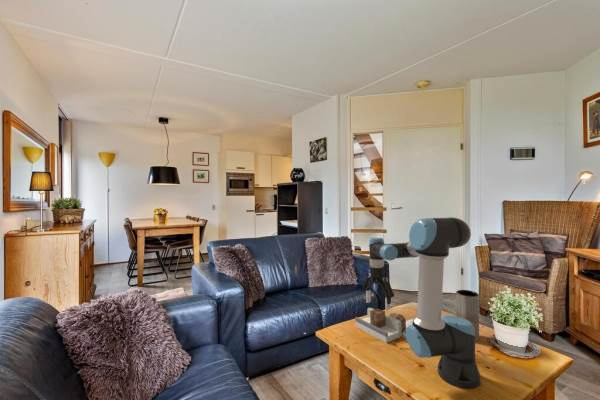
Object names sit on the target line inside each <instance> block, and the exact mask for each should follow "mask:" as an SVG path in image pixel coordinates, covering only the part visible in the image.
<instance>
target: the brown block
mask: <svg viewBox="0 0 600 400" xmlns="http://www.w3.org/2000/svg"><path fill="white" fill-rule="evenodd" d="M373 309H374V310H371V311H370V324H372V325H374V326H376V327H378V328H381V327H384V326H385V315H386V310H382V309H380V308H373Z"/></svg>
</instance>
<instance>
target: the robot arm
mask: <svg viewBox="0 0 600 400" xmlns="http://www.w3.org/2000/svg"><path fill="white" fill-rule="evenodd" d="M408 234H409V235H408V237H409V238H408V239H409V241H408V242H402V243H401V242H400V243H399V242H397V243H385V241H384V238H383V237H371V238H369V240H368V241H369V245H368V247H369V250H368V252H369V272H366V274H365V276H366V277H365V279H364V282H363V284H362V289H363V290H365V301H366V304H369V303H372V295H371V291H372V290H371V288H372V287H373V285H374V284H376V285H377V286H379V287H381V290H382V292H383V293H384V295H385V299H384V302H385V303H384V305H385V311H390V310H391V304H392V298H394V297H395V294H394V291H393V289H392V286H391V283H390V277H385V276H384V274H385V267H384V266H385V261H394V260H395V259H405V258H406V259H408V258H411V259H413V258H419V259H418V281H417V308H416V309H417V311H416V314H415V315H414V316H413V317H412V324H409V325H408V326H407V327H405V338H406V341H407V343H408V345H409V348H410V349H411V351H412V352H413V354H415V356H417V357H418V358H422V359H425V358H428V359H430V358H433V357H440V359H439V360H438V362H437V363H438V364H437V373H438V376H439V377H440V378H441V379H442V380H443V381H445V382H447V383H448V384H450V385H452V386H456V387H458V388H462V389H475V388H477V387H479V386H480V385H481V382H482V379H481V374H480V371H479V368H478V365H477V362H476V341H475V336H476V335H475V328H474V325H473V324H472V323H471V322H470V321H468V320H466V319H463V318H460V317H457V316H456V315H449V314H444V315H442V310H443V309H442V308H443V290H444V289H443V286H444V285H443V284H444V265H445V259H446V258H448V257H449V255H450V253H449V252H450V249H455V248H456V249H457V248H461V247H463V246H465V245H466V244H467V243H469V241H470V240H471V236H472V234H471V228H470V226H469V225H468V224H467V223H466V222H465V220H462V219H460V218H457V217H427V218H420V219H417V220H415V221H414V222H413V223H412V225H411V226H410V229H409V233H408Z"/></svg>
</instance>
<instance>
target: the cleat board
mask: <svg viewBox="0 0 600 400" xmlns="http://www.w3.org/2000/svg"><path fill="white" fill-rule="evenodd" d="M374 309H375V308H372V307H368V308H367V310H366V311H367V312H366V313H367V317H363V318H360V317H358V316H355V319H354V320H355V323H354V324H355V325H354V326H355V327H356V328H358V329H359V330H362V331H363V332H366V333H367V334H369V335H370V336H371V337H372V336H373V337H374V338H376V339H379V340H380V341H381V342H383V343H386V344H387V343H389V342H392V341H394V340H397V339H399V338H401V337H402V331H401V321H399V320H397V319H395V318H392V317H390V316H389V315H387V314H385V326H384V327H381V328H378V327H376V326H374V325H372V324H370V311H371V310H374ZM400 336H401V337H400ZM396 338H397V339H396Z"/></svg>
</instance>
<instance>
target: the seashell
mask: <svg viewBox="0 0 600 400" xmlns="http://www.w3.org/2000/svg"><path fill="white" fill-rule="evenodd" d="M388 316H390V317H392V318H395V319H397V320H399V321H401V332H402V331H403V330H404V328H406V324H407V319H406V318H405V316H404V315H403V314H399V313H396V312H391V313H389V315H388ZM405 323H406V324H405Z"/></svg>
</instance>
